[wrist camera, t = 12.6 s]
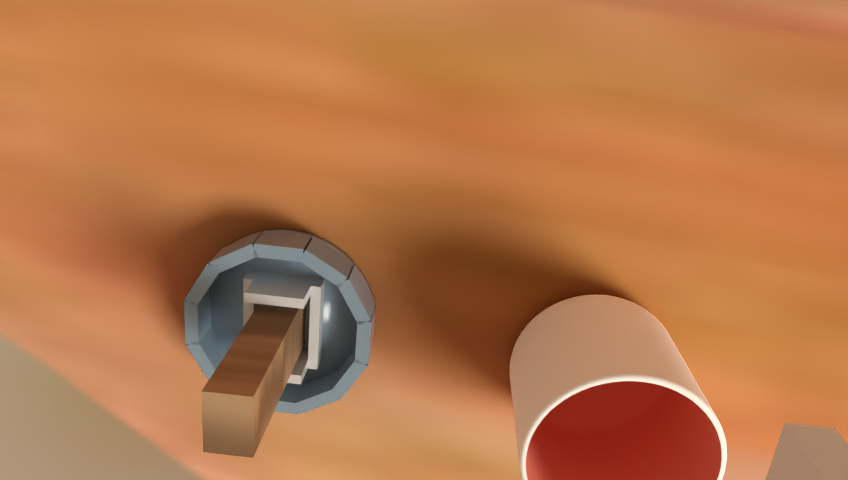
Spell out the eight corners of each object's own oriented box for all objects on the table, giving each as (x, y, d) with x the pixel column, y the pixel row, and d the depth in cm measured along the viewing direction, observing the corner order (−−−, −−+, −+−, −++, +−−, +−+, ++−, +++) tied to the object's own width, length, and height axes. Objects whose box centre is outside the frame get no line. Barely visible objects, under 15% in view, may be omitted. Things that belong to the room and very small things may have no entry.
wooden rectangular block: (267, 290, 42) (201, 391, 31) (306, 294, 41) (253, 396, 31) (266, 339, 43) (203, 451, 32) (304, 343, 43) (253, 457, 32)
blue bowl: (199, 219, 41) (175, 240, 37) (381, 239, 41) (374, 262, 37) (203, 377, 45) (182, 408, 41) (369, 396, 44) (361, 429, 41)
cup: (487, 402, 44) (493, 514, 35) (538, 266, 41) (560, 351, 31) (633, 442, 45) (677, 564, 35) (696, 311, 41) (764, 408, 32)
